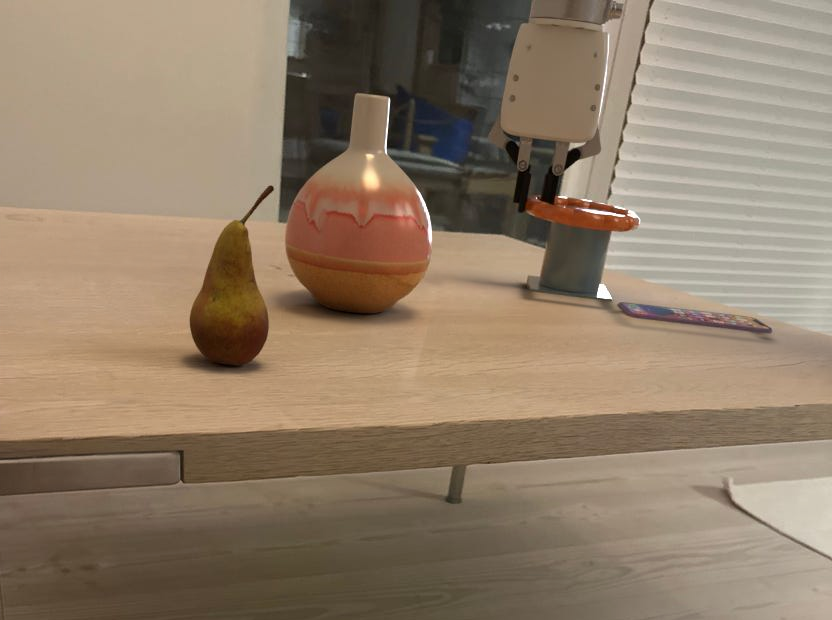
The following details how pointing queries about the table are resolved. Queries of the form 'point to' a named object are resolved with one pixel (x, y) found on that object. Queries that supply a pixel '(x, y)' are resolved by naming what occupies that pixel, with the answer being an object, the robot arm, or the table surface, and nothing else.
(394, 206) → the vase
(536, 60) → the robot arm
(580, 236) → the cylinder on square base
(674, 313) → the smartphone
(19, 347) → the table surface
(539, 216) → the ring
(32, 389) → the table surface
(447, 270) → the table surface
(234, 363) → the fruit
